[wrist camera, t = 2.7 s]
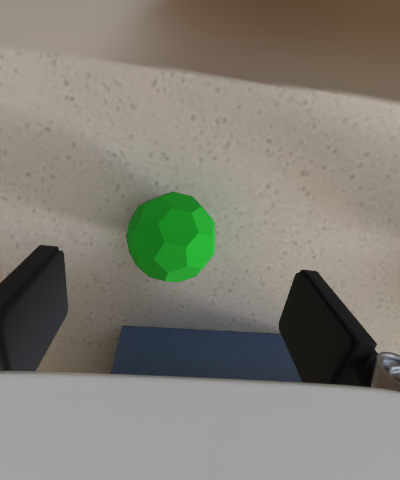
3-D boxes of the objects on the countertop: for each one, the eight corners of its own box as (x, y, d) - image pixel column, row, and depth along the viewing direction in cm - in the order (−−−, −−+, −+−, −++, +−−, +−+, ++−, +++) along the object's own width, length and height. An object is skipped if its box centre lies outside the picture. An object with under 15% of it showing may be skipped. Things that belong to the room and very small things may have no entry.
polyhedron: (128, 186, 16) (111, 213, 12) (209, 180, 17) (221, 205, 12) (140, 258, 19) (129, 303, 14) (212, 252, 19) (222, 295, 15)
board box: (98, 433, 27) (73, 538, 20) (95, 303, 20) (55, 396, 13) (274, 434, 29) (302, 528, 22) (324, 317, 22) (384, 403, 16)
